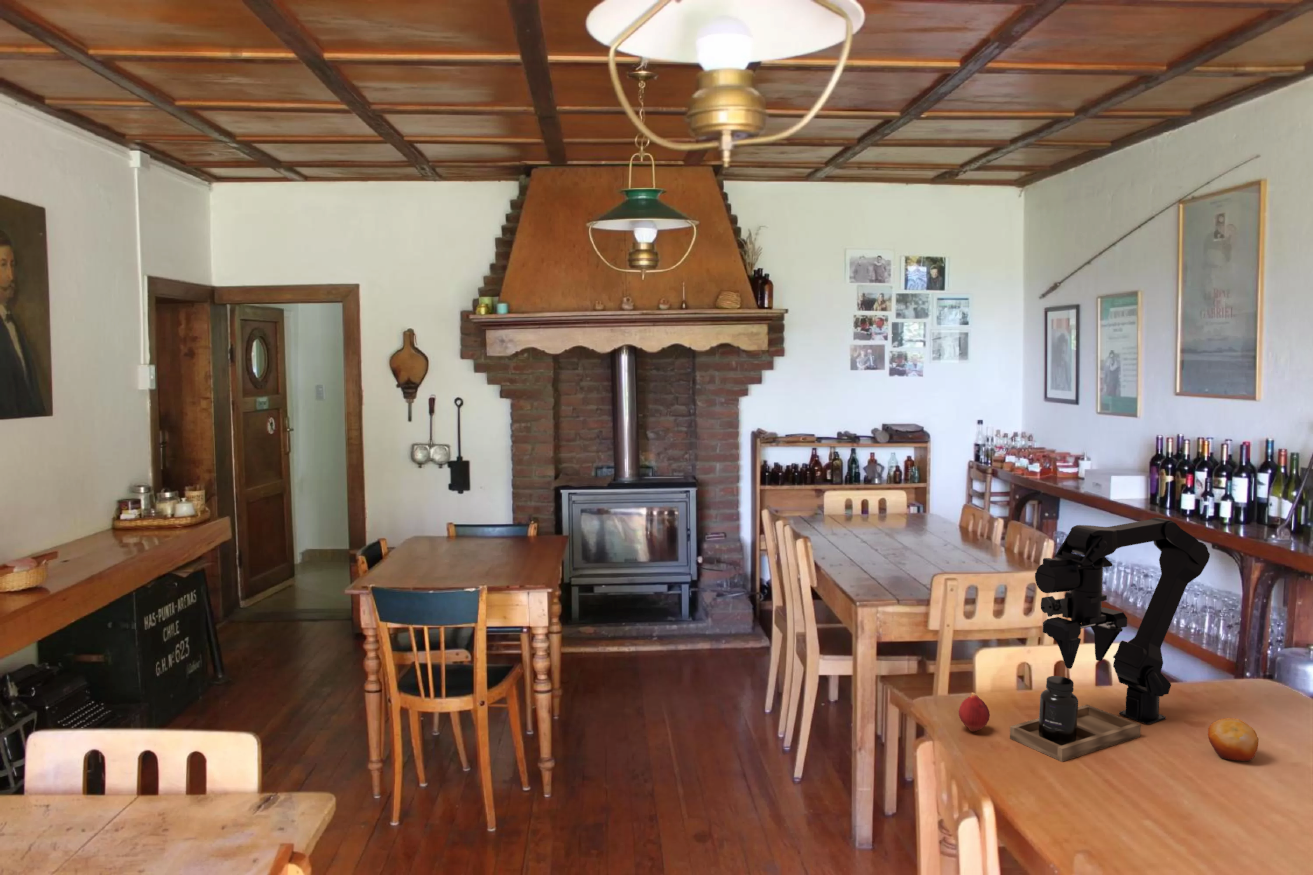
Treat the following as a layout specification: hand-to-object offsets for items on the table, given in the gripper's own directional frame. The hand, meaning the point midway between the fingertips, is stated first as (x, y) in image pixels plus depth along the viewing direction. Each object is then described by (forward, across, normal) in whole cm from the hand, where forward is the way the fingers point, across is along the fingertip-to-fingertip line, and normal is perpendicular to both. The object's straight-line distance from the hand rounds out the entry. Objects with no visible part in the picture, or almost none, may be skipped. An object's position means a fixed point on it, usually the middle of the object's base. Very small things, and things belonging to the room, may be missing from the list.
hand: (1083, 664), depth 186 cm
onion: (+13, +21, -9) cm, 26 cm away
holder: (+13, +6, +3) cm, 15 cm away
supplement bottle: (+12, +11, +3) cm, 17 cm away
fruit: (+13, -12, +23) cm, 29 cm away
